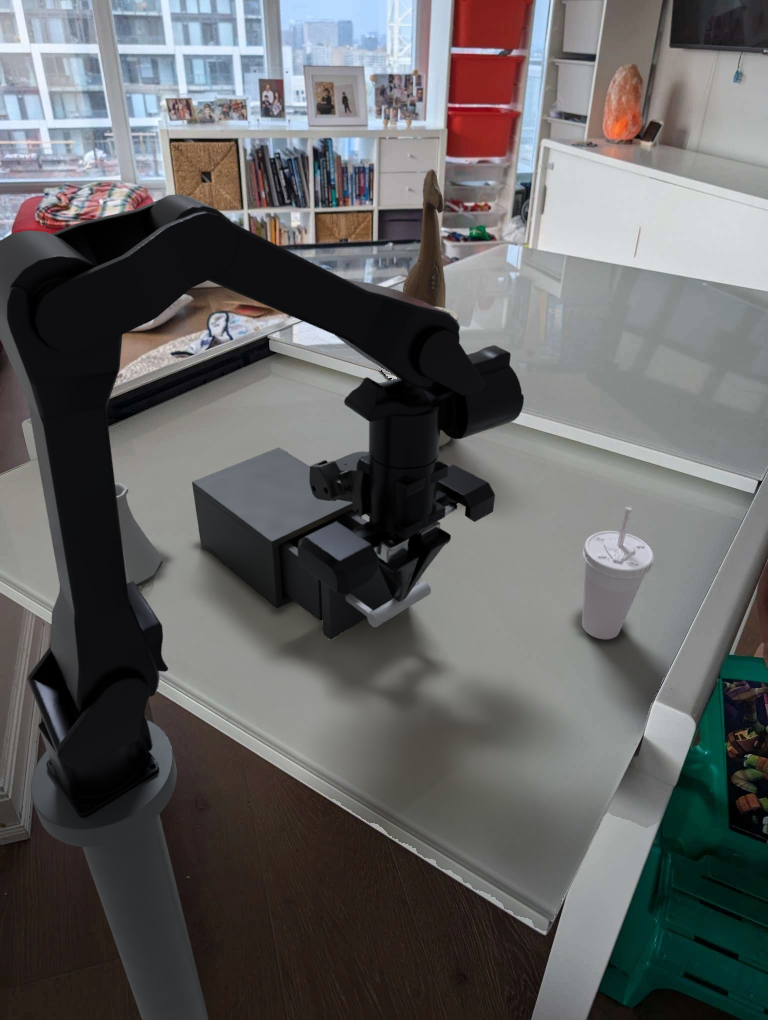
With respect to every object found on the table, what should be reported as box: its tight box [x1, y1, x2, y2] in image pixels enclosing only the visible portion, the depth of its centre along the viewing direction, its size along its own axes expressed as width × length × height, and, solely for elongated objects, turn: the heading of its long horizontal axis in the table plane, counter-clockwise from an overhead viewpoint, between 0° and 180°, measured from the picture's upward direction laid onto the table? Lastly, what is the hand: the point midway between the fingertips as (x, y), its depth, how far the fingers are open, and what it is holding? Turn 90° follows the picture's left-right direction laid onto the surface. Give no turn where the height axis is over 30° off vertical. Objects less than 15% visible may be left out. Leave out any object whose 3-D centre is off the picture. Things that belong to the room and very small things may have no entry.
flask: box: [115, 482, 163, 585], centre depth 80 cm, size 7×7×10 cm
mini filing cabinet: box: [191, 447, 363, 610], centre depth 83 cm, size 15×12×9 cm
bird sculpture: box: [402, 168, 447, 309], centre depth 117 cm, size 11×12×32 cm
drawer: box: [279, 511, 432, 641], centre depth 76 cm, size 18×10×7 cm, turn 43°
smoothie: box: [581, 506, 655, 640], centre depth 72 cm, size 6×6×14 cm
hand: (398, 598), depth 70 cm, fingers closed, pressing on drawer
